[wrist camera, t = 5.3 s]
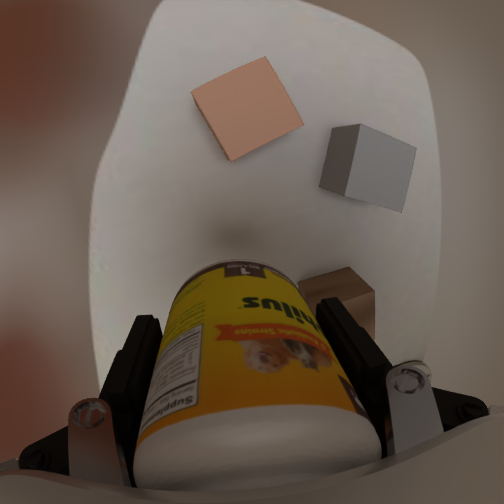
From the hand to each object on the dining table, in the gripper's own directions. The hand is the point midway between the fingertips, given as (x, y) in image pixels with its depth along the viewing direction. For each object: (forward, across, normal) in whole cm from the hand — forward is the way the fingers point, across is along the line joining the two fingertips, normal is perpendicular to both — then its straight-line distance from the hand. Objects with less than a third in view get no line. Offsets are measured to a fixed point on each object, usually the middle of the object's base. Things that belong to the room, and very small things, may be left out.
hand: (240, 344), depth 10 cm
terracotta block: (+14, -2, -10) cm, 17 cm away
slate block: (+14, -11, -6) cm, 18 cm away
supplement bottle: (+2, 0, 0) cm, 2 cm away
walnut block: (+14, -9, +6) cm, 18 cm away
